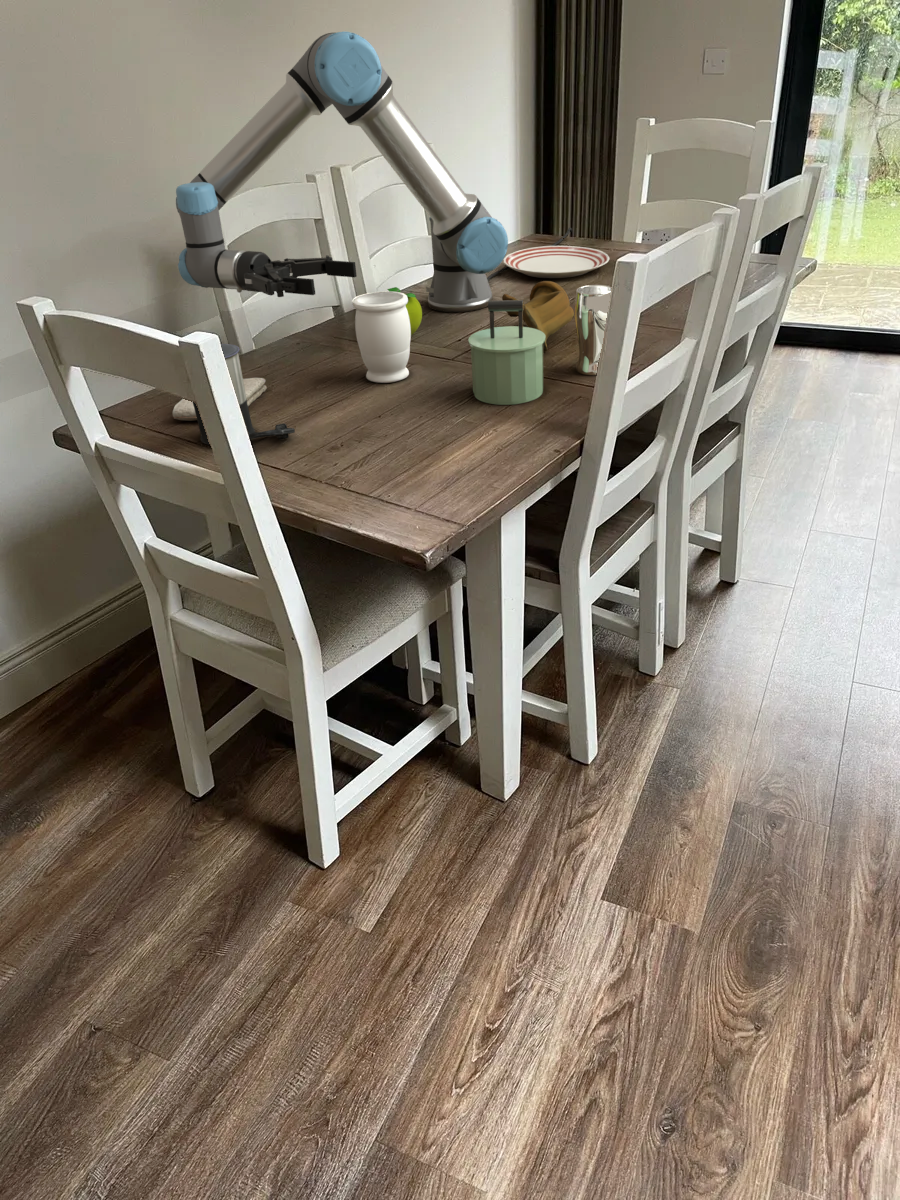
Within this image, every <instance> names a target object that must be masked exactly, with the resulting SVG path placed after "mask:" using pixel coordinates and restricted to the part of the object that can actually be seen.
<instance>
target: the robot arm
mask: <svg viewBox="0 0 900 1200" xmlns="http://www.w3.org/2000/svg"><path fill="white" fill-rule="evenodd" d="M332 105H333V107H334V108H335V109H336V111H337V112H338V113H339V115H340V116H341V117H342V118H343V119H344V121H345V122H346V123H347V124H348V125H349V126H354V127H355V126H356V127H359V128H361V130H362V131H363V132H364V134H365V135H366V136H367V137H368V139H369V140H370V141H371V143H372V144H373V145H374V146H375V148H376V149H377V150H378V152H379V153H380V154H381V155H382V157H383V158H384V159H385V160H386V163H388V165H389V166H390V167H391V168H392V170H393V171H394V172H395V174H396V175H397V176H398V177H399V179H400V180H401V181H402V183H403V184H404V185H405V186H406V187H407V189H408V190H409V192H410V193H411V194H412V196H414V198H415V199H416V200H417V202H418V203H419V204H420V206H421V207H422V209H423V210H424V211H425V213H427V214H428V216H429V218H428V219H429V224H430V234H431V235H430V236H431V249H432V250H431V251H432V262H433V275H432V278H431V283H430V286H429V287H428V286H425V292H426V293H428V296H427V303H428V307H429V309H432V310H434V311H437V312H445V313H463V312H472V311H478V310H481V309H485V308H488V301H493V292H492V289H491V286H490V280H491V279H492V278H494V277H495V276H498V275H499V274H501V273H503V272H505V271H507V270H509V269H511V268H510V267H508V266H507V265H506V266H505V267H502V268H500V269H499V270H497V271H494V270H495V269H497V268H498V267H499V266H500V265H501V264H502V262H503V259H504V258H505V257H506V256H507V252H508V248H509V247H508V246H509V237H508V234H507V231H506V229H505V227H504V226H503V224H502V223H501V222H500V221H498V219H497V218H494V217H492V216H491V214H490V213H489V212H488V210H487V209H486V207H485V206H484V204H483V203H482V202H481V200H480V199H479V198H478V196H477V195H475V193H466V192H465V191H464V190H463V189H462V187H461V186H460V184H459V183H458V182H457V181H456V179H455V178H454V176H453V175H452V174H451V173H450V170H448V168H447V167H446V165H445V164H444V163H443V161H442V160H441V159H440V157H439V156H438V154H437V153H436V152H435V150H434V149H433V148H432V147H431V145H430V143H429V142H428V140H426V138H425V137H424V135H423V134H422V132H420V130H419V129H418V128H417V126H416V125H415V123H414V122H413V121H412V119H411V118H410V116H409V115H408V114H407V112H406V111H405V110H404V109H403V107H402V106H401V104H400V103H399V101H397V99H396V98H395V96H394V81H393V79H392V78H391V77H390V76H389V75H388V73H387V71H386V70H385V69H384V68H383V66H382V64H381V60H380V58H379V55H378V52H377V51H376V49H375V47H374V46H373V45H372V44H371V43H370V42H369V41H368V40H367V39H366V38H364V37H363V36H361V35H359V34H357V33H355V32H351V31H338V32H328V33H325V34H322V35H320V36H318V37H317V38H316V39H315V40H314V41H313V42H312V43H311V44H310V46H309V47H308V48H307V49H306V51H305V52H304V53H303V55H302V56H301V57H300V58H299V59H298V61H297V62H296V63H295V64H294V65H293V66H292V68H290V70H289V71H288V72H287V73H286V74H285V84H283V85H282V87H280V88H279V89H278V91H277V92H276V93H275V94H274V95H272V97H270V99H269V100H267V102H266V103H265V104H264V105H263V106H262V108H260V109H259V110H258V111H257V112H256V113H255V114H254V115H253V116H252V117H251V119H250V120H248V122H246V124H245V125H244V126H243V127H242V128H241V129H239V131H238V132H237V133H236V134H235V135H234V136H233V137H232V138H231V139H230V140H229V141H228V142H227V144H225V145H224V147H223V148H222V149H221V150H220V151H219V152H218V153H217V154H216V155H215V156H214V157H213V158H212V159H211V160H210V161H209V162H208V163H207V164H206V165H205V166H204V167H203V168H202V169H201V170H200V171H199V173H198V174H197V175H196V176H194V178H193V179H192V180H191V181H190V182H187V183H183V184H180V185H178V186H177V187H176V188H175V194H176V197H175V207H176V210H177V213H178V214H179V218H180V222H181V227H182V231H183V235H184V241H185V248H184V249H183V250H181V252H180V253H179V256H178V264H177V267H178V269H177V270H178V271H179V275H180V277H181V278H182V280H183V281H184V282H186V283H187V284H188V285H191V286H195V287H201V288H205V289H209V288H211V289H223V290H225V289H226V290H236V292H237V293H242V292H243V291H247V292H255V293H262V294H265V295H268V296H274V295H275V292H276V296H277V298H283V297H285V295H284V294H296V295H305V296H315V295H316V288H315V280H314V278H304V277H308V276H316V275H327V276H332V277H343V278H344V277H345V278H357V266H356V261H344V260H334V259H333V257H332V256H330V255H325V257H309V258H305V257H304V258H288V257H287V258H284V259H283V260H280V259H279V260H272V259H271V258H270V257H269V256H268V255H267V254H266V253H265V252H262V251H255V250H254V251H253V250H243V249H226V245H225V239H224V236H223V235H224V233H223V229H222V222H221V217H220V210H221V209H222V208H223V207H224V206H225V205H226V203H227V202H228V201H229V200H231V198H232V197H233V196H234V195H236V193H237V192H238V191H239V190H240V189H241V188H242V187H243V186H244V185H245V184H246V183H247V182H248V181H249V180H250V179H251V178H252V177H253V176H254V175H255V174H257V172H258V171H259V170H260V168H262V167H263V166H264V165H265V164H266V163H267V162H268V161H269V160H270V159H271V158H272V157H273V156H274V155H275V154H276V153H277V152H278V151H279V150H280V148H282V147H283V145H285V143H287V142H288V141H289V140H290V139H291V137H293V136H294V134H295V133H296V132H297V131H298V130H299V129H300V128H301V127H302V126H303V125H304V124H305V123H306V122H307V121H309V119H310V118H312V116H321V115H322V114H323V113H324V112H325V111H326V109H328V108H329V107H330V106H332ZM573 232H574V231H573V229H572V227H568V229H567V231H566V233H565V234H564V235H563V236H562V237H561V238H559V239H558V240H557V241H556V242H554V243H552V244H551V245H550V246H559V244H560V243H562V242H563V241H564V240H565V239H566V238H567V237H568V236H569V234H570V233H573ZM562 238H565V239H562ZM492 271H494V272H493V273H491V272H492ZM488 273H491V274H489V276H487V275H486V274H488Z"/></svg>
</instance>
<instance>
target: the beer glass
mask: <svg viewBox="0 0 900 1200" xmlns="http://www.w3.org/2000/svg"><path fill="white" fill-rule="evenodd" d="M611 288H613V287H612V286H610V285H605V284H587V285H582V286H580V287H578V288H576V291H575V292H576V293H575V294H576V295H575V305H574V322H575V330H576V337H577V343H578V360H577V363H576V364H577V365H576V371H577V373H579V374H581V375H584V376H597V375H596V373H597V367H598V362H599V358H600V353H601V349H602V344H603V338H604V331H605V324H606V318H607V312H608V306H609V301H610V295H611Z"/></svg>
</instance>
